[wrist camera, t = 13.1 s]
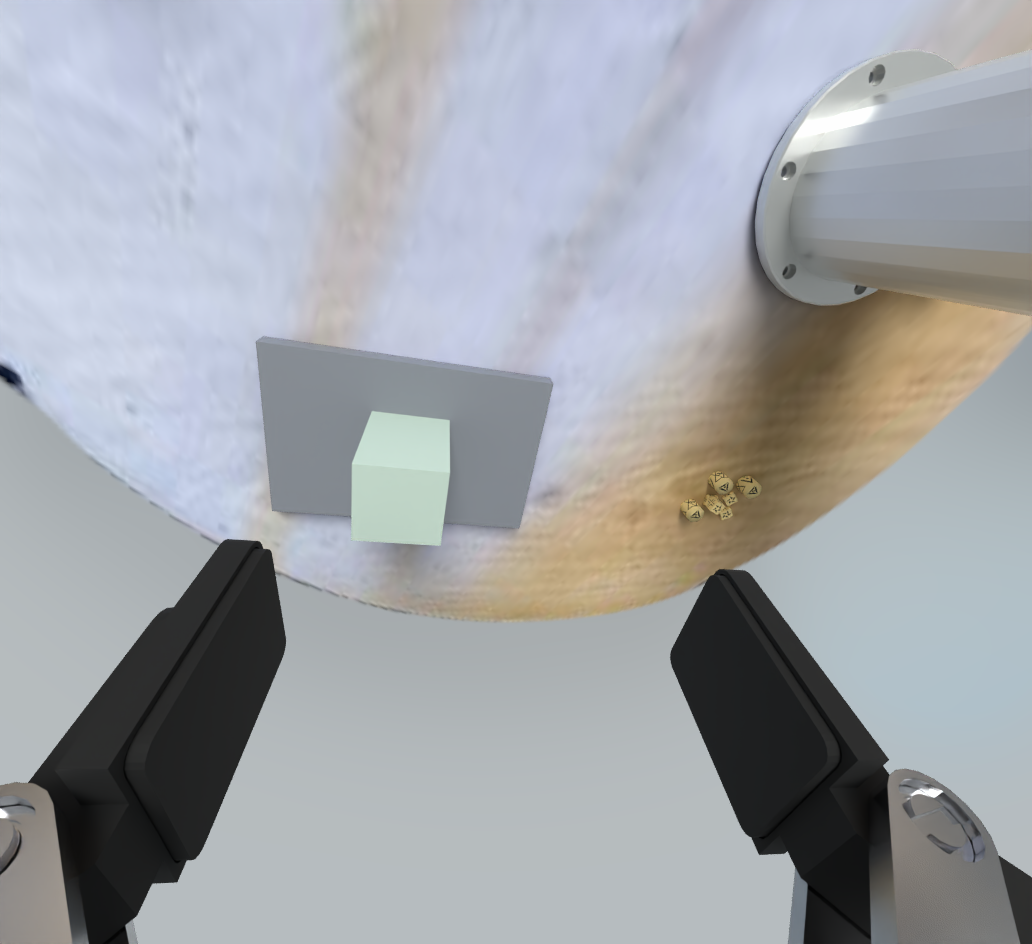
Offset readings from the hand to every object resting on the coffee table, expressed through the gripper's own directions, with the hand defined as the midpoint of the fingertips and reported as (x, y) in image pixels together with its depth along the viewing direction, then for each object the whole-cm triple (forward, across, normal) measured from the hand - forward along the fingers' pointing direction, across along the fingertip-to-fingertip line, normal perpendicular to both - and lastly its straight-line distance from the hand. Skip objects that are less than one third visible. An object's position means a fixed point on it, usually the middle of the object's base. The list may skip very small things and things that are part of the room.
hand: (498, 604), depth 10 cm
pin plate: (+22, +4, +8) cm, 23 cm away
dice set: (+24, -21, +10) cm, 34 cm away
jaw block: (+20, +4, +8) cm, 22 cm away
